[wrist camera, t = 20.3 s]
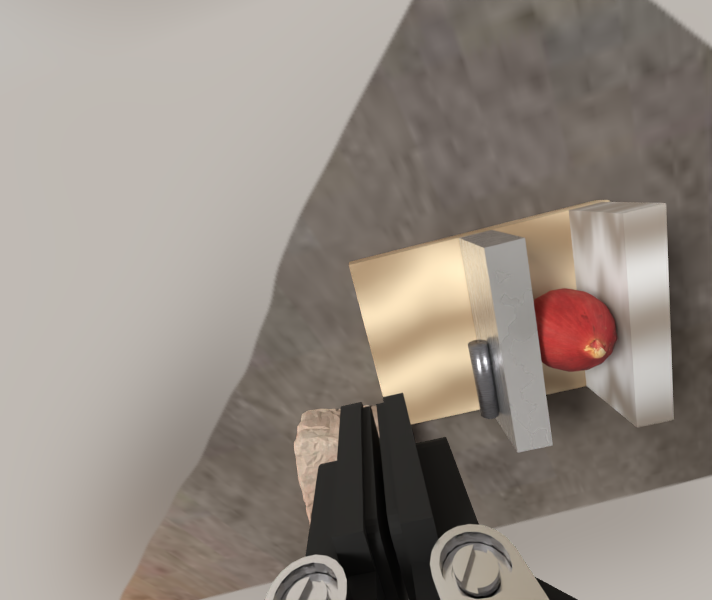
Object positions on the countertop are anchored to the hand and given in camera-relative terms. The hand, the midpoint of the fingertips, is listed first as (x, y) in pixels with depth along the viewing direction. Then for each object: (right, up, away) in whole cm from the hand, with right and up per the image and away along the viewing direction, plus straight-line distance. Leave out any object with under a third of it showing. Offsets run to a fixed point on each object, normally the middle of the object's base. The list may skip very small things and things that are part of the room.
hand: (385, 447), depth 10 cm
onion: (+14, +3, +21) cm, 25 cm away
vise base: (+10, +2, +22) cm, 25 cm away
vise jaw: (+9, +2, +21) cm, 23 cm away
